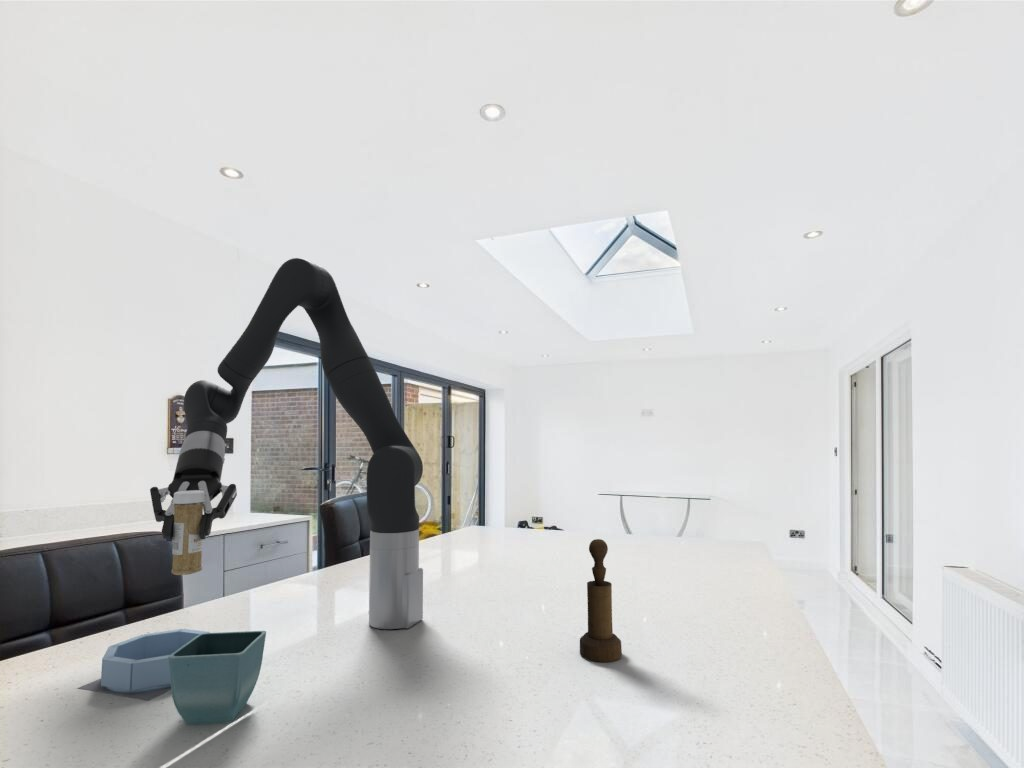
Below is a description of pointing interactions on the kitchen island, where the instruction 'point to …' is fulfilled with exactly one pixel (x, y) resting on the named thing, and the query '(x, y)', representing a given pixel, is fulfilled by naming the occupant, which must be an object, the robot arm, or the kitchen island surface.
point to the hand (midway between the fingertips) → (185, 537)
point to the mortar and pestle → (599, 612)
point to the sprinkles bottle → (187, 532)
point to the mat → (143, 696)
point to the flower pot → (215, 675)
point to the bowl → (142, 661)
